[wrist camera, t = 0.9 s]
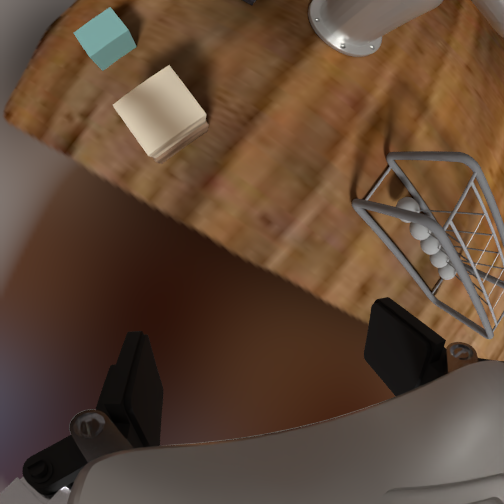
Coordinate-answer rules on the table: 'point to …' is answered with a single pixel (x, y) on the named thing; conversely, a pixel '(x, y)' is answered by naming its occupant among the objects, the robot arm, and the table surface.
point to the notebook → (250, 1)
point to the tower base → (182, 143)
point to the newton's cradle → (440, 234)
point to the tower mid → (160, 112)
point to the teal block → (105, 39)
